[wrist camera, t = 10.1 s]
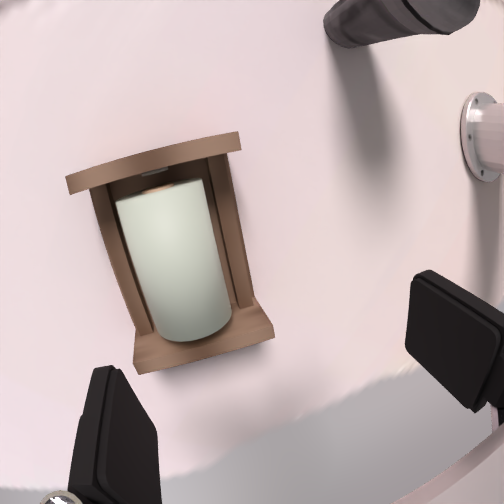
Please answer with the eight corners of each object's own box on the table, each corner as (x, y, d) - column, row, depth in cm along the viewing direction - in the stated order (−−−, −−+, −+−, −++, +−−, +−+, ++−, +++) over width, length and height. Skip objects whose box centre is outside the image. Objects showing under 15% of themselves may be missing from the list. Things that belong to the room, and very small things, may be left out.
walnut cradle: (221, 135, 24) (238, 131, 18) (253, 303, 29) (275, 337, 24) (87, 170, 21) (65, 176, 16) (140, 333, 27) (138, 374, 21)
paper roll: (122, 192, 22) (106, 206, 16) (198, 173, 23) (205, 180, 17) (158, 309, 26) (156, 351, 20) (225, 292, 27) (239, 330, 21)
